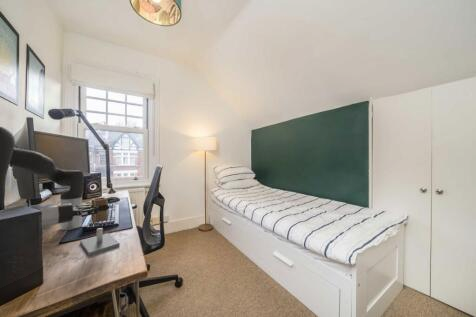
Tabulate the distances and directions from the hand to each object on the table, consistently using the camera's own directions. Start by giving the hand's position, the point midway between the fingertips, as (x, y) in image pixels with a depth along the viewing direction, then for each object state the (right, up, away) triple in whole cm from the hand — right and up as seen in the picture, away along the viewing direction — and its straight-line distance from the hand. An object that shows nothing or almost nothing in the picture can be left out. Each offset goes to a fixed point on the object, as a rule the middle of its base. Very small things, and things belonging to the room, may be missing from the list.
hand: (106, 206), depth 86 cm
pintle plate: (-2, -17, -2) cm, 18 cm away
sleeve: (-2, -6, -2) cm, 7 cm away
